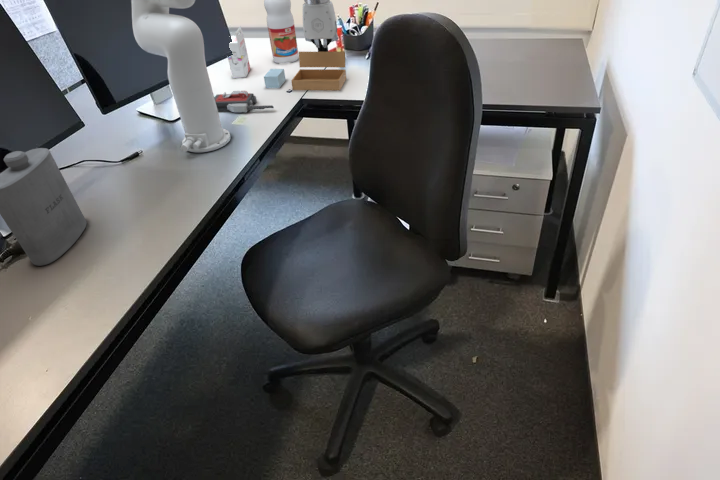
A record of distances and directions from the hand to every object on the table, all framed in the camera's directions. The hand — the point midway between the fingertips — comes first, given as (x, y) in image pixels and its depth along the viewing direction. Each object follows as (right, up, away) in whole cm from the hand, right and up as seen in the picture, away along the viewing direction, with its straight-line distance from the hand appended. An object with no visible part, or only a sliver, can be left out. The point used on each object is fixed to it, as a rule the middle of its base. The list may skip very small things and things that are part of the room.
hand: (324, 59), depth 159 cm
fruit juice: (-15, +7, +19) cm, 26 cm away
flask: (-49, -60, -60) cm, 98 cm away
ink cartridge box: (-30, -1, +11) cm, 32 cm away
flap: (-1, -1, -2) cm, 3 cm away
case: (-16, -8, +1) cm, 18 cm away
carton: (-1, -9, -2) cm, 10 cm away
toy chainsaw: (-23, -19, -12) cm, 33 cm away
